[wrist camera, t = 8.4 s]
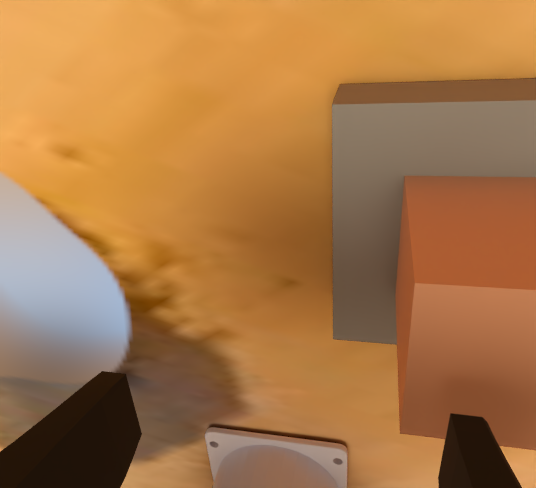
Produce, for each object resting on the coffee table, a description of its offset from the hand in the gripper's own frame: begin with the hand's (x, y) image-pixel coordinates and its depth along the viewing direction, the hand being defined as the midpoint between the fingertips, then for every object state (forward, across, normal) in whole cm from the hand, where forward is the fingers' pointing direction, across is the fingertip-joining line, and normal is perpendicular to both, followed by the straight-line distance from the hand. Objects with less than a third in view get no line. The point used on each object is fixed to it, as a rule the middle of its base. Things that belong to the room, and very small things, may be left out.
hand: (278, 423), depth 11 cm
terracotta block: (+7, -5, -1) cm, 9 cm away
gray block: (+10, -5, -1) cm, 11 cm away
